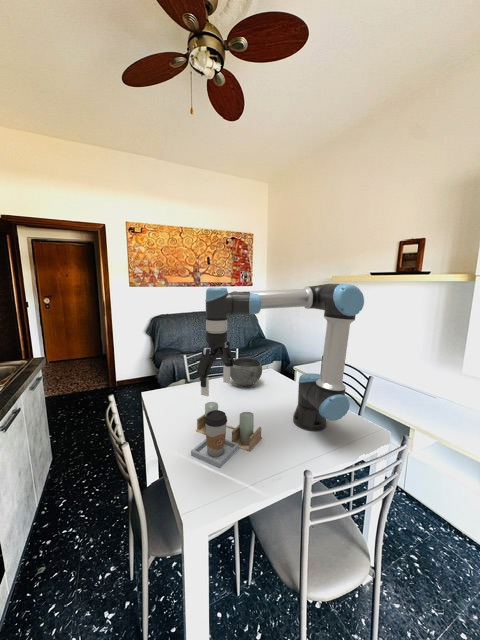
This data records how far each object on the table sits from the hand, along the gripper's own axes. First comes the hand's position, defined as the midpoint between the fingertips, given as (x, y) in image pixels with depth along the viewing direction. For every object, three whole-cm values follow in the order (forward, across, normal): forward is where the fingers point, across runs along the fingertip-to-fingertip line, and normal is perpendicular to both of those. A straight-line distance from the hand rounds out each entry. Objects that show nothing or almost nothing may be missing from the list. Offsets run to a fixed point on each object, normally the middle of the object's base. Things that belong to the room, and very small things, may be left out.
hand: (216, 388), depth 96 cm
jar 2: (+25, -12, +6) cm, 28 cm away
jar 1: (+25, -12, -11) cm, 30 cm away
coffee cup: (+25, 0, 0) cm, 25 cm away
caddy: (+26, -12, -2) cm, 29 cm away
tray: (+26, 0, 0) cm, 26 cm away
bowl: (+26, -66, -24) cm, 75 cm away
